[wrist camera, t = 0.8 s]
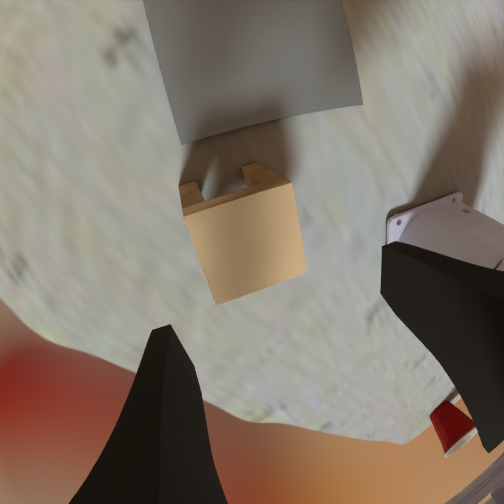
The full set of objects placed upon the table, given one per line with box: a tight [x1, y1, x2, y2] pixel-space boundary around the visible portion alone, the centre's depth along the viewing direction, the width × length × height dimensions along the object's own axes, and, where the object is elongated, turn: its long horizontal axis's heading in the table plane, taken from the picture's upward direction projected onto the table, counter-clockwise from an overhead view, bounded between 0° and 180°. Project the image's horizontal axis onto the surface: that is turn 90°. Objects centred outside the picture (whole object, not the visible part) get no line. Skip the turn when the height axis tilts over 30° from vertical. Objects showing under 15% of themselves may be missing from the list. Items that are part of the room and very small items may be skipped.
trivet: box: [143, 0, 363, 145], centre depth 12 cm, size 11×11×1 cm
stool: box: [179, 162, 307, 305], centre depth 15 cm, size 5×5×5 cm
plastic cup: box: [430, 401, 478, 457], centre depth 46 cm, size 11×11×12 cm
